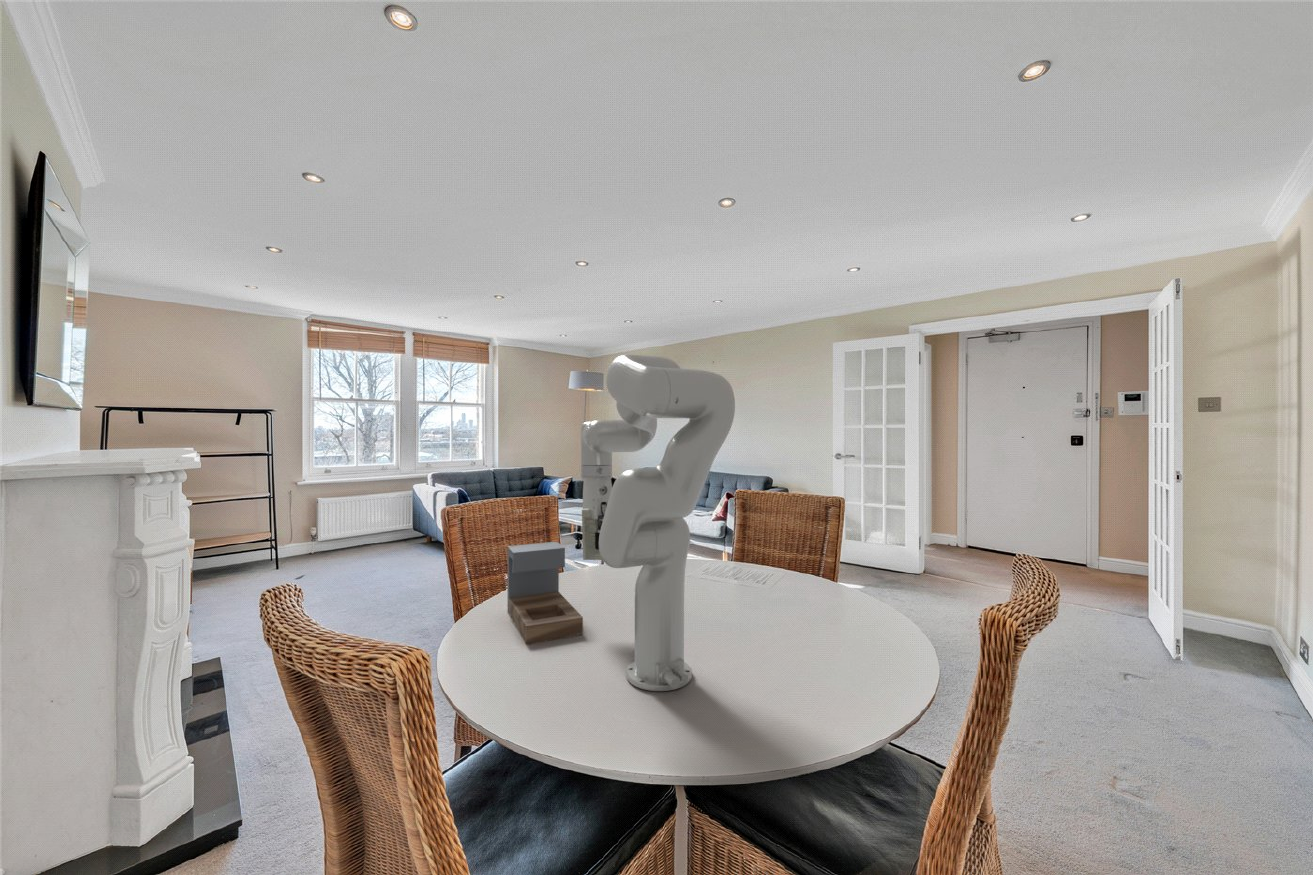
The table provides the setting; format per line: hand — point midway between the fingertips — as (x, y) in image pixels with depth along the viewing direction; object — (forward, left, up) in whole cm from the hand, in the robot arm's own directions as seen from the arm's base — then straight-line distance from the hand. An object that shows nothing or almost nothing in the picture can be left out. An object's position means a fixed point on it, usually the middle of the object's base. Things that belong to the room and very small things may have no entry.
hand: (596, 545), depth 128 cm
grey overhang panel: (+14, +12, -19) cm, 27 cm away
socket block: (+6, +11, -19) cm, 23 cm away
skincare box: (0, 0, -3) cm, 3 cm away
